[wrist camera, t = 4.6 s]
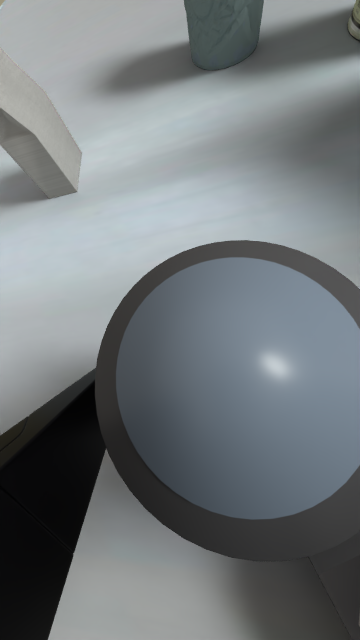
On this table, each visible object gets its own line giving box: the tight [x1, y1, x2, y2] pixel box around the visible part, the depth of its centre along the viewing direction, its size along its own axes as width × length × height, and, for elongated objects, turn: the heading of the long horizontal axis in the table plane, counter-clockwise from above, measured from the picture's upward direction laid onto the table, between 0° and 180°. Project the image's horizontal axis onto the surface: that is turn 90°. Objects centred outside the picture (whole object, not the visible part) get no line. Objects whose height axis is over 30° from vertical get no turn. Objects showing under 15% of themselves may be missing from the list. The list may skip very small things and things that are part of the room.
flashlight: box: [95, 240, 360, 561], centre depth 9 cm, size 5×5×12 cm
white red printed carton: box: [0, 47, 82, 199], centre depth 21 cm, size 4×7×10 cm, turn 4°
